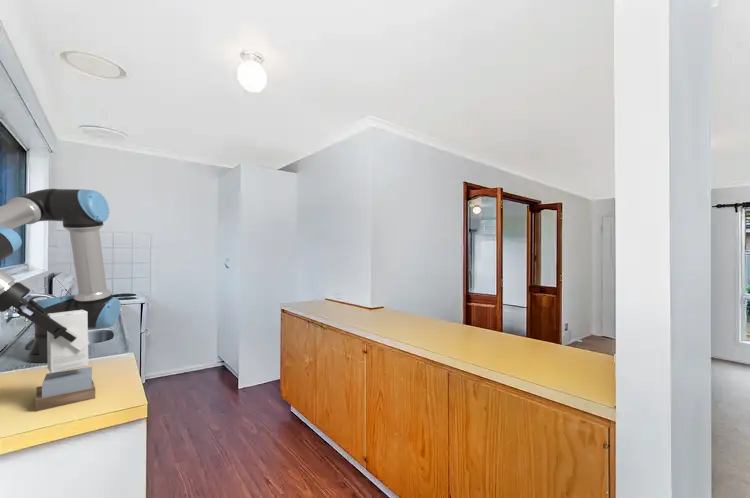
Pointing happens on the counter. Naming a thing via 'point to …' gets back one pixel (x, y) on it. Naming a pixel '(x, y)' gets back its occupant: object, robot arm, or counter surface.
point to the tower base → (63, 398)
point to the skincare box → (62, 352)
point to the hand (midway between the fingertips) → (83, 343)
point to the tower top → (67, 382)
